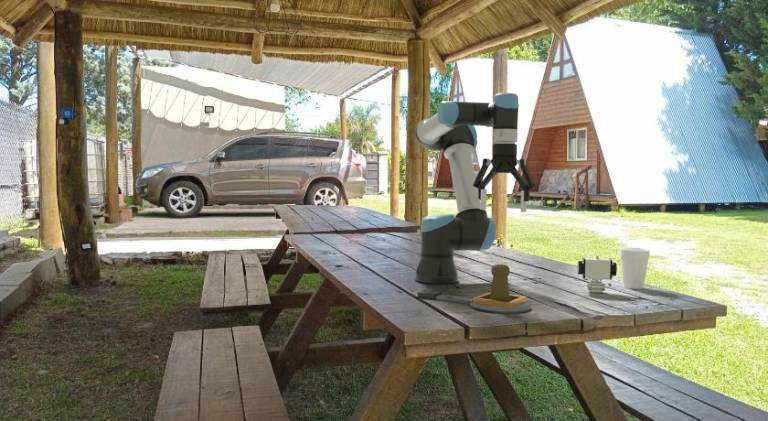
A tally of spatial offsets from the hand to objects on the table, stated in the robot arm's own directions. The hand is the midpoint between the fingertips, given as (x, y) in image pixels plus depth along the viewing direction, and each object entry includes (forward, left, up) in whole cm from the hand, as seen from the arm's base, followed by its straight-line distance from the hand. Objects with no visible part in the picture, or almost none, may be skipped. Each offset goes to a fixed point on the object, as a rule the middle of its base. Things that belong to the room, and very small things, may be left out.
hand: (502, 210), depth 199 cm
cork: (+8, -20, -25) cm, 33 cm away
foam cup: (+32, +39, -27) cm, 57 cm away
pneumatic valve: (+24, +22, -27) cm, 42 cm away
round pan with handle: (-1, -19, -26) cm, 33 cm away
